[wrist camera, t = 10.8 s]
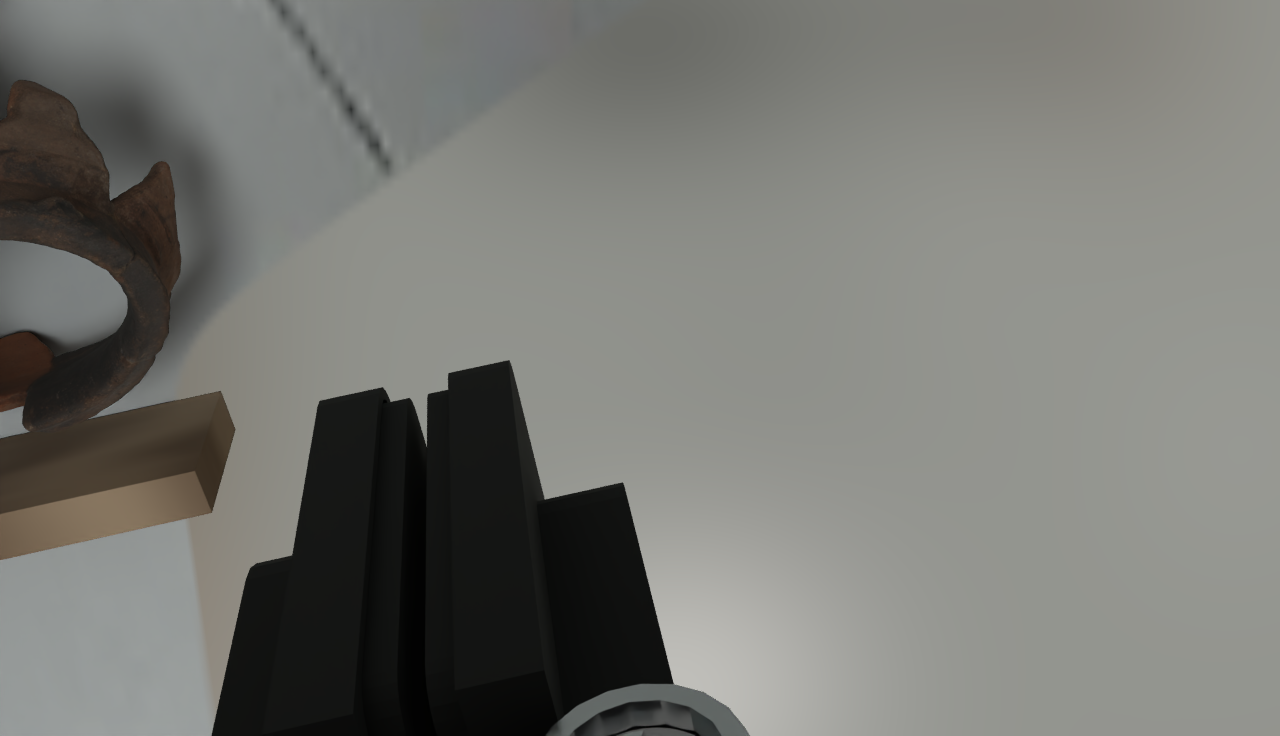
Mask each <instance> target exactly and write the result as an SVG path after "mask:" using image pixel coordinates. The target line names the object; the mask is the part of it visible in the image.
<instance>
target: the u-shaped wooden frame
mask: <svg viewBox="0 0 1280 736" xmlns="http://www.w3.org/2000/svg"><path fill="white" fill-rule="evenodd" d="M234 433H235V427H234V425H233V422H232V420H231V417H230V414H229V411H228V409H227V406H226V403H225V401H224V398H223V396H222V393H221V391H219V392H214V393H210V394H204V395H200V396H195V397H191V398H186V399H181V400H177V401H172V402H168V403H163V404H158V405H154V406H149V407H145V408H140V409H135V410H131V411H126V412H122V413H117V414H112V415H108V416H103V417H99V418H94V419H89V420H85V421H83V422H82V423H78V424H76V425H74V426H72V427H70V428H68V429H66V430H63V431H59V432H55V433H45V432H30V433H25V434H20V435H16V436H11V437H7V438H2V439H0V560H3V559H7V558H12V557H16V556H21V555H25V554H30V553H34V552H38V551H43V550H47V549H52V548H56V547H61V546H65V545H70V544H74V543H79V542H83V541H88V540H92V539H97V538H101V537H106V536H110V535H115V534H119V533H124V532H128V531H132V530H137V529H141V528H146V527H150V526H155V525H159V524H164V523H168V522H173V521H177V520H182V519H186V518H191V517H195V516H199V515H204V514H208V513H212V510H213V507H214V503H215V500H216V496H217V493H218V489H219V485H220V482H221V479H222V475H223V472H224V468H225V464H226V461H227V457H228V454H229V450H230V447H231V443H232V440H233V436H234Z"/></svg>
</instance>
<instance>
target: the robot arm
mask: <svg viewBox="0 0 1280 736" xmlns="http://www.w3.org/2000/svg"><path fill="white" fill-rule="evenodd" d="M427 401H428V402H427V403H428V404H427V447H426V444H425V440H424V437H423V433H422V430H421V426H420V423H419V420H418V416H417V413H416V410H415V407H414V405H413V402H412V400H411V399H410V398H407V399H403V400H398V401H393V402H390V399H389V397H388V395H387V393H386V391H385V390H384V388H383V387H382V388H378V389H373V390H368V391H364V392H359V393H354V394H349V395H345V396H340V397H335V398H331V399H327V400H322V401H319V404H318V407H317V413H316V419H315V426H314V431H313V437H312V443H311V449H310V454H309V460H308V467H307V473H306V478H305V484H304V490H303V496H302V502H301V508H300V513H299V519H298V526H297V531H296V537H295V543H294V548H293V554H292V556H288V557H284V558H279V559H274V560H270V561H265V562H261V563H257V564H255V565H254V566H252V567H251V568H250V570H249V573H248V576H247V578H246V581H245V586H244V590H243V595H242V600H241V604H240V609H239V613H238V618H237V622H236V627H235V631H234V636H233V640H232V645H231V650H230V654H229V659H228V663H227V668H226V672H225V677H224V682H223V686H222V691H221V695H220V700H219V704H218V709H217V714H216V718H215V722H214V727H213V732H212V736H750V735H749V734H748V732H747V730H746V728H745V727H744V726H743V725H742V723H741V722H740V721H739V720H738V718H737V717H736V716H735V715H734V714H733V712H732V711H731V710H730V709H729V707H727V706H725V705H724V704H722V703H720V702H719V701H717V700H716V699H714V698H712V697H711V696H709V695H707V694H706V693H704V692H701V691H697V690H693V689H690V688H686V687H682V686H678V685H674V683H673V679H672V676H671V671H670V667H669V664H668V659H667V655H666V651H665V648H664V643H663V639H662V635H661V631H660V627H659V623H658V619H657V615H656V611H655V607H654V603H653V599H652V595H651V591H650V587H649V583H648V579H647V576H646V571H645V567H644V563H643V559H642V555H641V551H640V547H639V543H638V539H637V535H636V531H635V527H634V523H633V519H632V515H631V511H630V507H629V503H628V499H627V495H626V491H625V487H624V484H623V483H618V484H614V485H609V486H604V487H600V488H596V489H591V490H587V491H582V492H578V493H573V494H568V495H564V496H559V497H555V498H550V499H546V500H545V499H544V495H543V491H542V487H541V483H540V479H539V475H538V471H537V467H536V462H535V458H534V454H533V450H532V446H531V442H530V439H529V434H528V430H527V426H526V422H525V418H524V413H523V409H522V406H521V401H520V397H519V393H518V389H517V385H516V381H515V377H514V373H513V370H512V366H511V363H510V361H509V360H508V361H503V362H499V363H494V364H490V365H484V366H480V367H475V368H471V369H466V370H462V371H456V372H452V373H449V374H448V390H445V391H440V392H435V393H431V394H428V398H427Z"/></svg>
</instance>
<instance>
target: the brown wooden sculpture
mask: <svg viewBox="0 0 1280 736" xmlns="http://www.w3.org/2000/svg"><path fill="white" fill-rule="evenodd" d="M0 240H14V241H22V242H30V243H35V244H40V245H44V246H48V247H52V248H55V249H59V250H64V251H67V252H70V253H73V254H76V255H78V256H80V257H82V258H86V259H88V260H89V261H91V262H93V263H94V264H96V265H98V266H100V267H101V268H103V269H106V270H107V271H109V273H110V274H111V275H112V276H113V278H114V279H115V280H116V281H118V283H119V284H120V285H121V287H122V289H123V292H124V293H125V294H126V296H127V299H128V310H127V315H126V317H125V319H124V322H123V323H122V325H121V326H120V328H119V329H118V330H117V332H116V333H114V334H113V335H111V336H109V337H108V338H106V339H104V340H102V341H100V342H97V343H95V344H93V345H90V346H87V347H83V348H81V349H78V350H76V351H73V352H68V353H65V354H62V355H59V356H57V357H55V356H54V354H53V352H52V351H51V350H50V349H49V348H48V347H47V346H46V345H44V344H43V343H42V342H41V341H40V340H39V339H38V338H37V337H36V336H35V335H33V334H31V333H30V332H22V333H14V334H12V335H9V336H6V337H3V338H0V412H3V411H7V410H11V409H14V408H17V407H21V406H24V409H23V419H22V424H23V426H24V428H25V429H27V430H28V431H30V432H45V433H55V432H59V431H63V430H66V429H68V428H70V427H72V426H74V425H76V424H78V423H82V422H83V421H85V420H87V419H89V418H91V417H93V416H95V415H97V414H98V413H99V412H100V411H101V410H103V409H105V408H107V407H109V406H110V405H112V404H113V403H115V402H117V401H118V400H119V399H121V398H122V397H123V396H124V395H125V394H127V393H128V392H129V391H130V390H132V389H133V388H134V386H135V385H137V384H138V383H139V382H140V381H141V379H142V378H143V377H144V376H145V374H146V373H147V371H148V370H149V368H150V367H151V366H152V365H153V363H154V361H155V355H156V354H157V353H158V352H159V351H160V350H161V349H162V347H163V343H164V341H165V339H166V337H167V335H168V333H169V319H170V301H169V300H170V297H171V290H172V289H173V287H174V284H175V283H176V281H177V279H178V277H179V275H180V267H181V254H180V244H179V241H178V235H177V225H176V212H175V192H174V187H173V181H172V176H171V172H170V167H169V165H168V164H167V163H166V162H163V161H161V162H158V163H156V164H154V166H153V167H152V168H151V170H150V172H149V174H148V175H147V176H146V177H145V178H144V180H143V181H142V182H140V183H139V184H138V185H135V186H133V187H132V188H130V189H129V190H127V191H126V192H124V193H122V194H120V195H119V196H118V197H117V198H114V199H112V200H111V201H110V199H109V172H108V170H107V168H106V166H105V163H104V160H103V157H102V154H101V152H100V151H99V149H98V148H97V147H96V145H95V144H94V143H93V141H92V140H91V139H90V138H89V137H88V136H87V135H86V133H85V132H84V131H83V130H82V128H81V126H80V122H79V118H78V115H77V111H76V110H75V108H74V106H73V104H72V103H71V102H70V101H69V100H67V99H66V98H65V97H64V96H62V95H60V94H58V93H56V92H54V91H52V90H49V89H47V88H45V87H43V86H42V85H39V84H37V83H35V82H31V81H26V80H18V81H16V82H14V83H13V85H12V87H11V90H10V94H9V99H8V105H7V117H6V118H4V119H3V120H1V121H0Z"/></svg>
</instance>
